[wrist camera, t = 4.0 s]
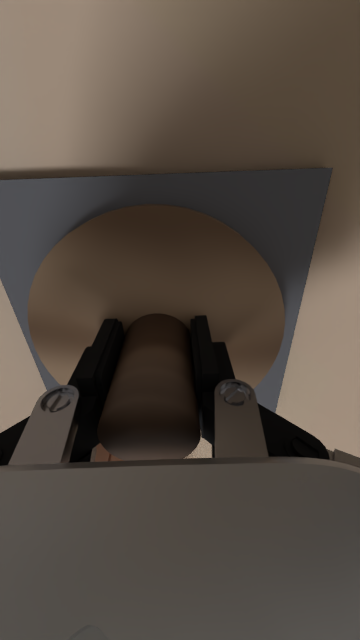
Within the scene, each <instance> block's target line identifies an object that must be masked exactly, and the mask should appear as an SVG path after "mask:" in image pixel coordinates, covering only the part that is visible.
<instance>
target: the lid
mask: <svg viewBox="0 0 360 640" xmlns="http://www.w3.org/2000/svg"><path fill="white" fill-rule="evenodd" d="M198 315H206V316H207V320H208V325H209V330H210V334H211V339H212V342H225V344H226V348H227V351H228V354H229V358H230V361H231V365H232V368H233V372H234V375H235V379H237V380H241V381H244V382H246V383H247V384H249V385H250V386H251V387H252V388H253V389H254V388H255V387H256V386H257V385H258V384H259V383H260V382H261V381H262V379H263V378H264V377H265V376H266V374H267V373H268V372H269V370H270V368H271V367H272V365H273V363H274V362H275V359H276V357H277V355H278V353H279V350H280V347H281V343H282V340H283V335H284V327H285V310H284V304H283V299H282V294H281V291H280V288H279V286H278V283H277V280H276V278H275V276H274V274H273V273H272V271H271V269H270V267H269V266H268V264H267V263H266V261H265V260H264V259H263V258H262V256H261V255H260V254H259V253H258V251H257V250H256V249H255V248H254V247H253V246H252V245H251V244H250V243H249V242H247V241H246V240H245V239H244V238H243V237H242V236H241V235H240V234H239V233H238V232H236V231H235V230H233V229H232V228H230V227H229V226H227V225H226V224H225V223H223V222H221V221H219V220H217V219H215V218H213V217H211V216H209V215H207V214H205V213H202V212H199V211H195V210H192V209H189V208H186V207H180V206H174V205H167V204H142V205H134V206H127V207H123V208H119V209H116V210H112V211H109V212H106V213H104V214H102V215H100V216H97V217H95V218H93V219H91V220H89V221H87V222H86V223H84V224H82V225H81V226H79V227H78V228H76V229H75V230H73V231H71V232H70V233H68V234H67V235H66V236H65V237H64V238H63V239H62V240H60V241H59V242H58V243H57V244H56V245H55V246H54V247H53V248H52V249H51V251H50V252H49V253H48V254H47V256H46V257H45V258H44V260H43V261H42V263H41V265H40V267H39V268H38V270H37V272H36V274H35V276H34V279H33V282H32V285H31V288H30V293H29V299H28V325H29V330H30V335H31V338H32V341H33V344H34V347H35V350H36V352H37V354H38V356H39V358H40V360H41V361H42V363H43V364H44V366H45V367H46V369H47V370H48V372H49V373H50V374H51V375H52V376H53V377H54V379H55V380H56V381H57V382H58V383H59V384H60V385H67V384H68V382H69V380H70V378H71V376H72V374H73V372H74V370H75V368H76V366H77V364H78V362H79V360H80V358H81V356H82V354H83V352H84V350H85V348H86V347H88V346H92V344H93V342H94V340H95V338H96V335H97V333H98V331H99V329H100V327H101V325H102V323H103V321H104V319H115V318H117V319H118V321H121V322H122V324H123V330H124V336H125V338H124V342H123V345H122V348H121V351H120V355H119V358H118V361H117V365H116V368H115V371H114V375H113V378H112V381H111V384H110V388H109V391H108V394H107V398H106V401H105V404H104V407H103V411H102V414H101V417H100V421H99V424H98V428H97V435H98V439H99V441H100V443H101V445H102V446H103V447H104V448H105V449H106V450H107V451H108V452H109V453H110V454H112V455H113V456H115V457H117V458H119V459H121V460H124V461H130V460H160V459H182V458H184V457H186V456H187V455H189V454H190V453H191V452H192V451H193V450H194V449H195V448H196V447H197V445H198V443H199V441H200V437H201V431H200V421H199V410H198V401H197V398H196V390H195V379H194V368H193V357H192V346H191V335H190V319H195V316H198Z"/></svg>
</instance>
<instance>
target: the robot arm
mask: <svg viewBox="0 0 360 640" xmlns="http://www.w3.org/2000/svg"><path fill="white" fill-rule="evenodd" d="M190 335H191V346H192V357H193V368H194V379H195V390H196V398H197V401H198V410H199V421H200V429H201V436H202V438H204V439H205V440H207V441H208V442H209V443H210V444H212V458H192V459H160V460H130V461H102V462H95V457H96V446H97V445H98V444H99V443H100V441H99V439H98V435H97V428H98V424H99V421H100V417H101V414H102V411H103V407H104V404H105V401H106V398H107V394H108V391H109V388H110V384H111V381H112V378H113V375H114V371H115V368H116V365H117V361H118V358H119V355H120V351H121V348H122V345H123V342H124V338H125V336H124V330H123V324H122V322H121V321H118V319H117V318H115V319H104V321H103V323H102V325H101V327H100V329H99V331H98V333H97V335H96V338H95V340H94V342H93V344H92V346H88V347H86V348H85V350H84V352H83V354H82V356H81V358H80V360H79V362H78V364H77V366H76V368H75V370H74V372H73V374H72V376H71V378H70V380H69V382H68V384H67V385H61V386H56V387H54V388H51V389H50V390H48V391H46V392H45V393H44V394H43V395H42V396H40V398H39V399H38V401H37V402H36V404H35V407H34V409H33V411H32V413H31V415H30V416H29V417H27V418H26V419H24V420H22V421H21V422H19V423H17V424H15V425H14V426H12V427H10V428H9V429H7V430H5V431H3V432H2V433H0V640H360V458H359V457H356V456H353V455H351V454H348V453H345V452H343V451H340V450H337V449H335V450H334V452H333V451H330V450H328V449H326V448H325V446H324V445H323V444H322V443H321V442H320V440H318V439H317V438H316V437H314V436H313V435H311V434H309V433H308V432H306V431H304V430H303V429H301V428H299V427H298V426H296V425H294V424H292V423H291V422H289V421H287V420H286V419H284V418H282V417H281V416H279V415H277V414H276V413H274V412H272V411H270V410H269V409H267V408H265V407H264V406H262V405H260V404H259V403H257V399H256V394H255V392H254V389H253V388H252V387H251V386H250V385H249V384H247V383H246V382H244V381H241V380H237V379H235V375H234V372H233V368H232V365H231V361H230V358H229V354H228V351H227V348H226V344H225V342H212V339H211V334H210V330H209V325H208V320H207V316H206V315H198V316H195V319H190Z"/></svg>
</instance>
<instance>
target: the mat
mask: <svg viewBox="0 0 360 640" xmlns="http://www.w3.org/2000/svg"><path fill="white" fill-rule="evenodd" d="M332 169H333V168H309V169H282V170H255V171H229V172H202V173H175V174H148V175H122V176H95V177H68V178H42V179H15V180H0V279H1V281H2V283H3V286H4V288H5V291H6V293H7V295H8V298H9V300H10V303H11V305H12V307H13V310H14V312H15V315H16V317H17V319H18V322H19V324H20V327H21V329H22V332H23V334H24V336H25V339H26V341H27V344H28V346H29V348H30V351H31V353H32V356H33V358H34V360H35V363H36V365H37V368H38V370H39V372H40V375H41V377H42V380H43V382H44V384H45V387H46V389H47V391H48V390H50V389H51V388H54V387H56V386H61V385H60V384H59V383H58V382H57V381H56V380H55V379H54V377H53V376H52V375H51V374H50V373H49V372H48V370H47V369H46V367H45V366H44V364H43V363H42V361H41V360H40V358H39V356H38V354H37V352H36V350H35V347H34V344H33V341H32V338H31V335H30V330H29V325H28V299H29V293H30V288H31V285H32V282H33V279H34V276H35V274H36V272H37V270H38V268H39V267H40V265H41V263H42V261H43V260H44V258H45V257H46V256H47V254H48V253H49V252H50V251H51V249H52V248H53V247H54V246H55V245H56V244H57V243H58V242H59V241H60V240H62V239H63V238H64V237H65V236H66V235H67V234H68V233H70V232H71V231H73V230H75V229H76V228H78V227H79V226H81V225H82V224H84V223H86V222H87V221H89V220H91V219H93V218H95V217H97V216H100V215H102V214H104V213H106V212H109V211H112V210H116V209H119V208H123V207H127V206H134V205H142V204H167V205H174V206H180V207H186V208H189V209H192V210H195V211H199V212H202V213H205V214H207V215H209V216H211V217H213V218H215V219H217V220H219V221H221V222H223V223H225V224H226V225H227V226H229V227H230V228H232V229H233V230H235V231H236V232H238V233H239V234H240V235H241V236H242V237H243V238H244V239H245V240H246V241H247V242H249V243H250V244H251V245H252V246H253V247H254V248H255V249H256V250H257V251H258V253H259V254H260V255H261V256H262V258H263V259H264V260H265V261H266V263H267V264H268V266H269V267H270V269H271V271H272V273H273V274H274V276H275V278H276V280H277V283H278V286H279V288H280V291H281V294H282V299H283V304H284V310H285V327H284V335H283V340H282V343H281V347H280V350H279V353H278V355H277V357H276V359H275V362H274V363H273V365H272V367H271V368H270V370H269V372H268V373H267V374H266V376H265V377H264V378H263V379H262V381H261V382H260V383H259V384H258V385H257V386H256V387H255V388H254V392H255V394H256V399H257V403H259V404H260V405H262V406H264V407H265V408H267V409H269V410H270V411H272V412H274V413H275V411H276V407H277V403H278V398H279V394H280V390H281V386H282V381H283V377H284V373H285V369H286V364H287V360H288V356H289V352H290V347H291V343H292V339H293V335H294V330H295V326H296V322H297V318H298V313H299V309H300V305H301V301H302V296H303V292H304V288H305V284H306V279H307V275H308V271H309V267H310V262H311V258H312V254H313V250H314V245H315V241H316V237H317V233H318V228H319V224H320V220H321V216H322V211H323V207H324V203H325V199H326V194H327V190H328V186H329V182H330V177H331V173H332Z"/></svg>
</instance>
